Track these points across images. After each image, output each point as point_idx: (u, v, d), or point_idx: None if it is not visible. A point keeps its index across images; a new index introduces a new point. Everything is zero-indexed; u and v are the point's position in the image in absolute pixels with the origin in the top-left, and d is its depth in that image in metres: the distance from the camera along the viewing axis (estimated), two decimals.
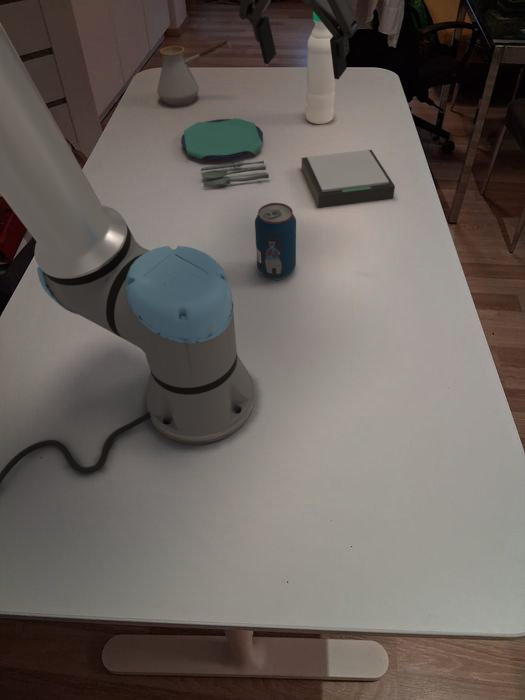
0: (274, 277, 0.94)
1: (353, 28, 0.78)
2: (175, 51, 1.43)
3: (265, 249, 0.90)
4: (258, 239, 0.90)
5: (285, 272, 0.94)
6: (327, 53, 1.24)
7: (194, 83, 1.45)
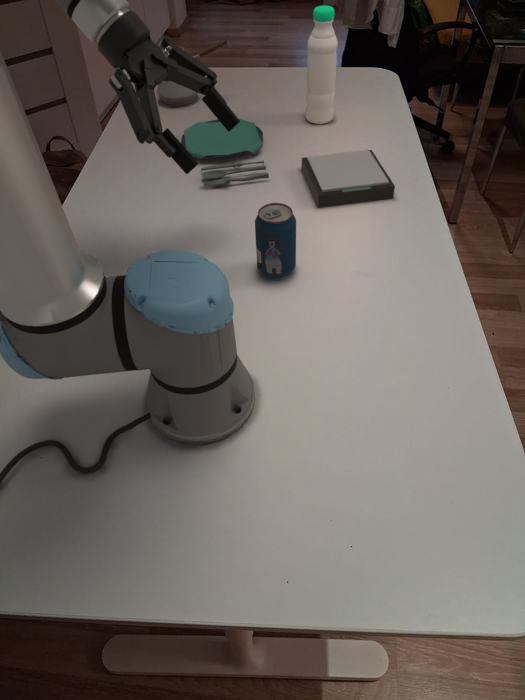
0: (274, 277, 0.94)
1: None
2: None
3: (265, 249, 0.90)
4: (258, 239, 0.90)
5: (285, 272, 0.94)
6: (327, 53, 1.24)
7: None
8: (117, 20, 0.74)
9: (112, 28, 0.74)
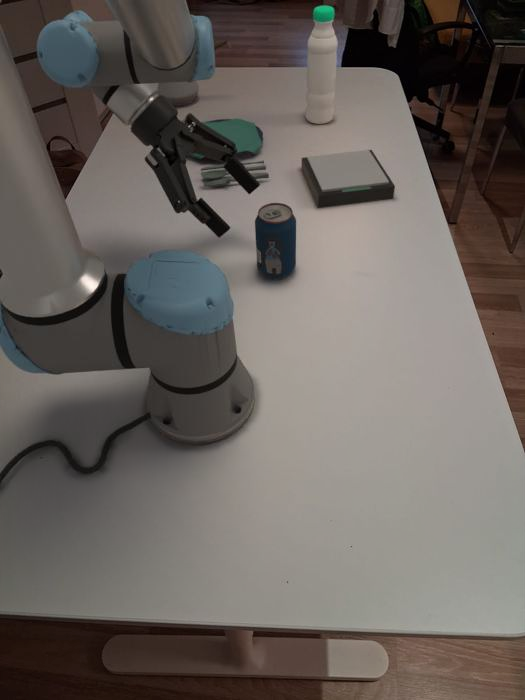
0: (274, 277, 0.94)
1: None
2: None
3: (265, 249, 0.90)
4: (258, 239, 0.90)
5: (285, 272, 0.94)
6: (327, 53, 1.24)
7: (194, 83, 1.45)
8: (150, 105, 0.80)
9: (146, 112, 0.80)
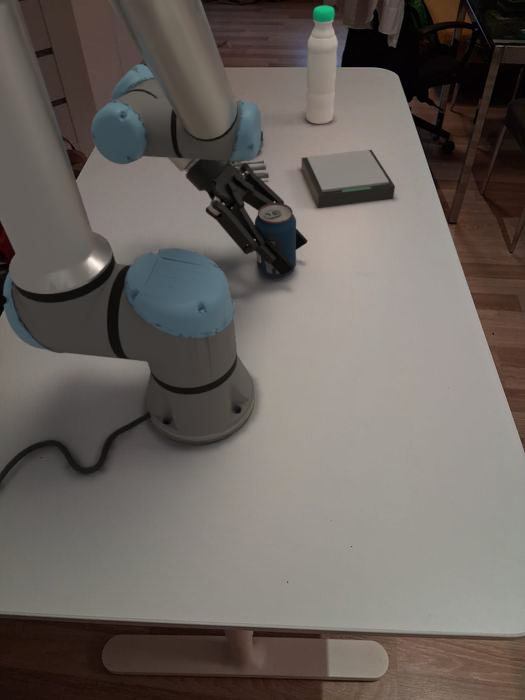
0: (274, 277, 0.94)
1: None
2: None
3: None
4: None
5: None
6: (327, 53, 1.24)
7: None
8: None
9: (203, 160, 0.83)
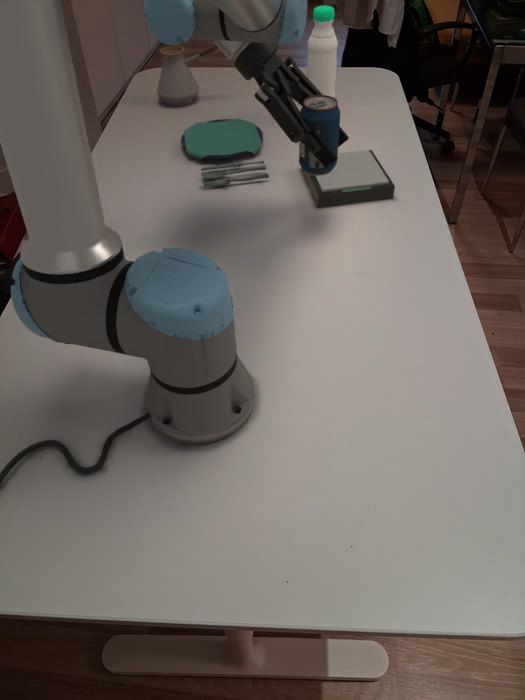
0: (316, 172, 0.96)
1: None
2: (175, 51, 1.43)
3: None
4: None
5: None
6: (327, 53, 1.24)
7: (194, 83, 1.45)
8: None
9: (253, 44, 0.85)
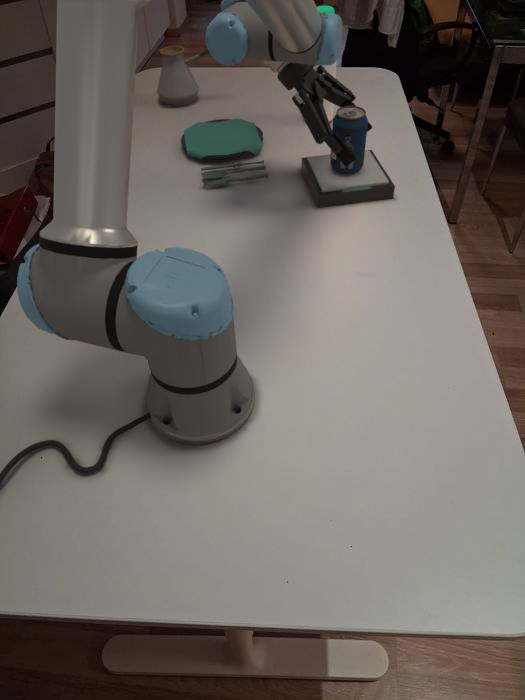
0: (346, 172, 1.11)
1: None
2: (175, 51, 1.43)
3: None
4: None
5: (356, 167, 1.10)
6: None
7: (194, 83, 1.45)
8: None
9: None
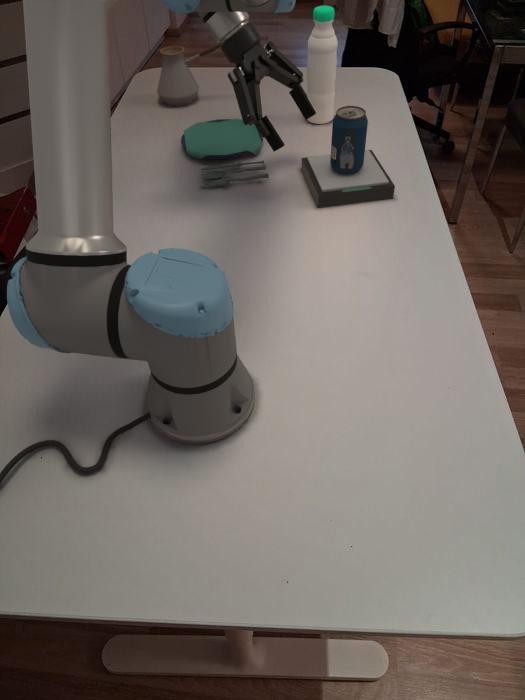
0: (346, 172, 1.11)
1: None
2: (175, 51, 1.43)
3: (341, 145, 1.07)
4: (335, 136, 1.07)
5: (356, 167, 1.10)
6: (327, 53, 1.24)
7: (194, 83, 1.45)
8: (240, 29, 0.98)
9: (236, 35, 0.99)
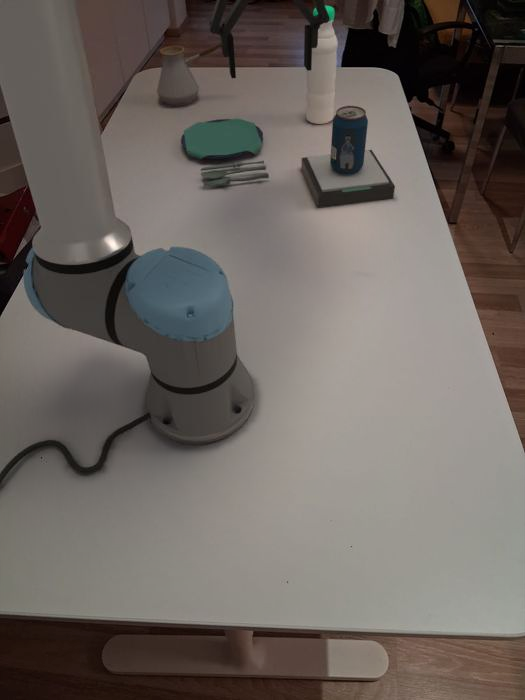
0: (346, 172, 1.11)
1: (327, 14, 0.91)
2: (175, 51, 1.43)
3: (341, 145, 1.07)
4: (335, 136, 1.07)
5: (356, 167, 1.10)
6: (327, 53, 1.24)
7: (194, 83, 1.45)
8: None
9: None
